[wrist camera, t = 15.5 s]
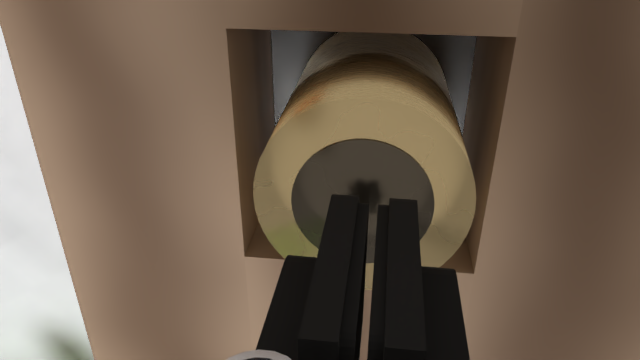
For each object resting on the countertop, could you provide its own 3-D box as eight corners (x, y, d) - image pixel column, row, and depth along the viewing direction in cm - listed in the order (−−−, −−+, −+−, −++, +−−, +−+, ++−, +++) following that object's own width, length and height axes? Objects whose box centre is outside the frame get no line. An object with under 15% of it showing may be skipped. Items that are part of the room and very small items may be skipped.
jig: (759, -242, 13) (951, -314, 8) (581, 318, 21) (630, 428, 17) (57, -228, 15) (-85, -279, 10) (153, 283, 23) (98, 374, 19)
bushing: (455, 26, 17) (494, 105, 10) (437, 168, 19) (460, 301, 13) (298, 21, 17) (245, 93, 11) (300, 160, 19) (257, 284, 13)
